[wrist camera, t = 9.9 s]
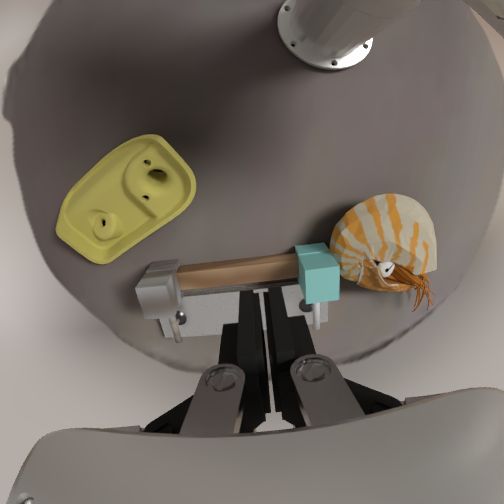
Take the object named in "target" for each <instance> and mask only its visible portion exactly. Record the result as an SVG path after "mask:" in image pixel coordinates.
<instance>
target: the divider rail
mask: <svg viewBox="0 0 504 504" xmlns="http://www.w3.org/2000/svg"><path fill="white" fill-rule="evenodd" d="M329 250H330V249H329ZM297 277H299V263H298V257H297V254H296V253H288V254H280V255H271V256H262V257H254V258H245V259H236V260H228V261H219V262H210V263H201V264H192V265H183V266H180V262H179V259H177V260H169V261H160V262H152V263H151V265H150V266H149V268H148V269H147V270H146V273H145V275H144V276H143V277H142V279H141V280H140V282H139V283H138V285H137V286H136V288H135V290H136V294H137V297H138V300H139V303H140V306H141V309H142V312H143V315H144V318H145V319H161V318H168V319H169V322H170V325H171V328H172V332H173V335H174V338H175V341H176V343H181V342H182V337H181V334H180V331H179V328H178V324H179V321H180V319H179V318H176V317H175V315H176V313H177V310H178V307H179V305H180V302H181V300H182V298H183V296H184V293H185V291H186V290H188V289H198V288H208V287H218V286H228V285H237V284H246V283H255V282H264V281H273V280H281V279H289V278H297Z"/></svg>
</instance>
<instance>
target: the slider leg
mask: <svg viewBox="0 0 504 504" xmlns="http://www.w3.org/2000/svg"><path fill="white" fill-rule="evenodd" d="M295 252H296V254H297V257H298V263H299V277H297V279H298V282H299V285H300V288H301V290H302V293H303V296H304V299H305V302H306V304H312V305H311V307H312V310H313V329H315V330H318V329H320V302H327V301H333V300H339V282H340V266H339V264H338V263H337V261H336V260H335V259H334V257H333V256H332V254H330V250H329V249H328V247H327V246H326V245H325V243H315V244H306V245H298V246H295Z"/></svg>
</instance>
